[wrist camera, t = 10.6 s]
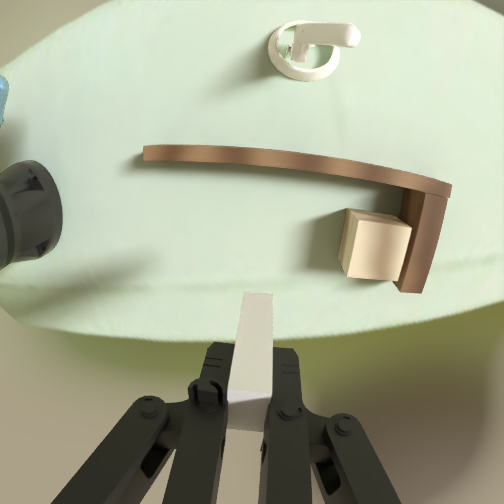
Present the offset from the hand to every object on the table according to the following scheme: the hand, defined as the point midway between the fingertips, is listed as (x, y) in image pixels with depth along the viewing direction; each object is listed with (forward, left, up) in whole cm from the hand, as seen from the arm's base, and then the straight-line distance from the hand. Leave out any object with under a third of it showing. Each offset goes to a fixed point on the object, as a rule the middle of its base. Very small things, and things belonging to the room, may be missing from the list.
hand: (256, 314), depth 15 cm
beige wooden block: (+12, 0, -18) cm, 21 cm away
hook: (+2, +20, -18) cm, 27 cm away
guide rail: (+3, +2, -17) cm, 18 cm away
